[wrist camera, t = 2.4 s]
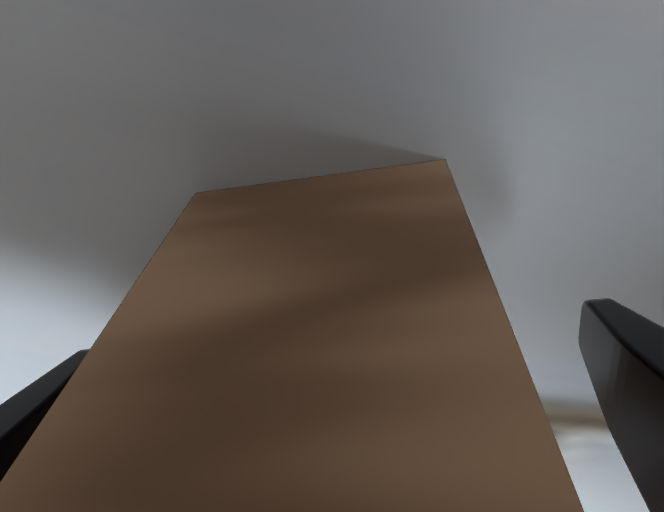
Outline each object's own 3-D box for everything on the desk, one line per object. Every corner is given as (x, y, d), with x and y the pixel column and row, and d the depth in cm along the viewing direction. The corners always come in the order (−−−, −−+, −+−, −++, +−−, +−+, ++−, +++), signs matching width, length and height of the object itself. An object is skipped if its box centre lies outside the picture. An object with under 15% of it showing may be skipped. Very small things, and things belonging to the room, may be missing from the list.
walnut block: (445, 159, 10) (642, 659, 3) (455, 355, 12) (573, 870, 5) (196, 192, 10) (-126, 670, 4) (254, 372, 13) (133, 854, 6)
